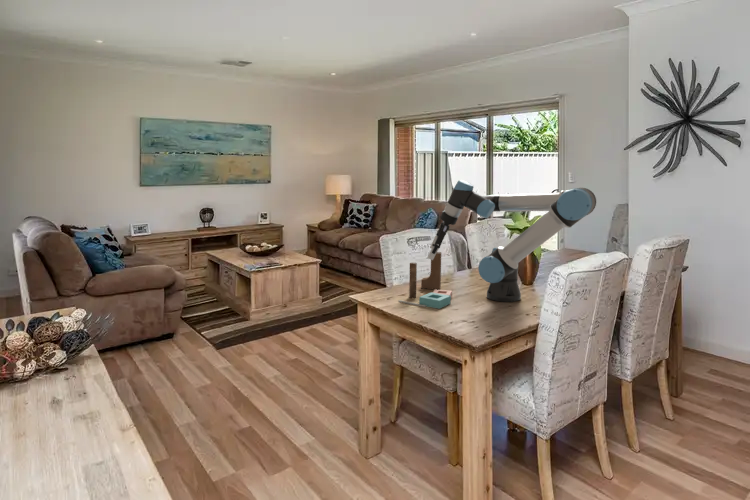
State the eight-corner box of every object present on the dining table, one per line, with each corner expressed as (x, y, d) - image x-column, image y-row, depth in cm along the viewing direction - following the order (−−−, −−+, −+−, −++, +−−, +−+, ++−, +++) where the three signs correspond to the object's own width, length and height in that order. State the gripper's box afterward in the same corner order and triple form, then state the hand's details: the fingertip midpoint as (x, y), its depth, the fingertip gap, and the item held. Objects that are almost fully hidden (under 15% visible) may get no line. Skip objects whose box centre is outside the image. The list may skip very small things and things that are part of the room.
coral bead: (452, 297, 228) (452, 290, 227) (449, 301, 220) (449, 295, 219) (434, 295, 230) (435, 289, 229) (431, 300, 222) (431, 293, 222)
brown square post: (417, 297, 228) (418, 263, 225) (413, 298, 225) (414, 264, 222) (411, 296, 229) (412, 262, 227) (407, 297, 227) (408, 263, 224)
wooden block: (421, 288, 243) (421, 252, 240) (422, 286, 248) (423, 251, 245) (439, 289, 241) (440, 253, 238) (440, 287, 245) (441, 252, 242)
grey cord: (426, 306, 212) (426, 305, 212) (425, 307, 211) (425, 305, 211) (399, 301, 220) (399, 300, 220) (398, 301, 220) (398, 300, 219)
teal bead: (450, 303, 217) (450, 295, 216) (439, 308, 209) (439, 300, 208) (430, 299, 223) (430, 292, 222) (419, 304, 215) (419, 297, 214)
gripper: (444, 203, 231) (426, 241, 240) (441, 217, 208) (421, 259, 216) (459, 209, 231) (440, 248, 239) (458, 225, 208) (436, 267, 216)
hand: (431, 253), depth 228 cm, fingers open, 13 cm apart
